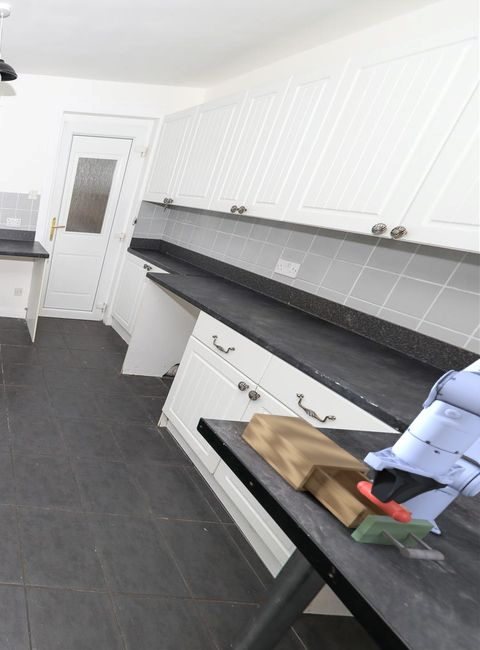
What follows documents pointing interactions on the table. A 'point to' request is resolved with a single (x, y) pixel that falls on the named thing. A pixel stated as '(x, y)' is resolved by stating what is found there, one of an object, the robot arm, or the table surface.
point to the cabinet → (296, 448)
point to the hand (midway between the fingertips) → (384, 498)
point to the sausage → (385, 504)
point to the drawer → (368, 513)
